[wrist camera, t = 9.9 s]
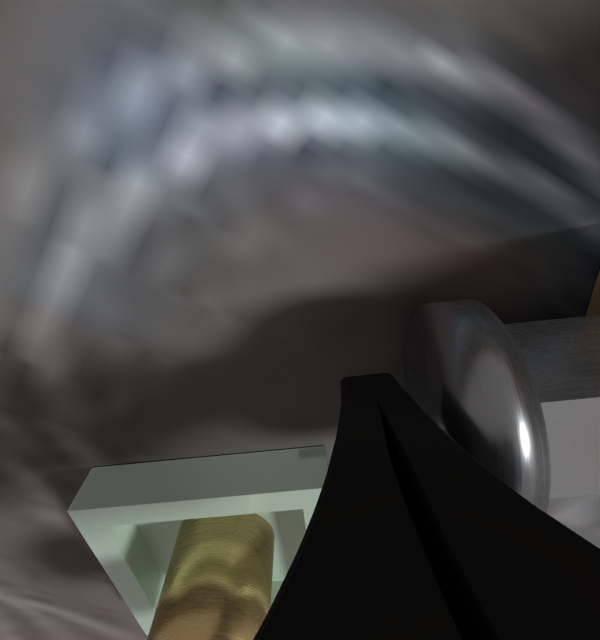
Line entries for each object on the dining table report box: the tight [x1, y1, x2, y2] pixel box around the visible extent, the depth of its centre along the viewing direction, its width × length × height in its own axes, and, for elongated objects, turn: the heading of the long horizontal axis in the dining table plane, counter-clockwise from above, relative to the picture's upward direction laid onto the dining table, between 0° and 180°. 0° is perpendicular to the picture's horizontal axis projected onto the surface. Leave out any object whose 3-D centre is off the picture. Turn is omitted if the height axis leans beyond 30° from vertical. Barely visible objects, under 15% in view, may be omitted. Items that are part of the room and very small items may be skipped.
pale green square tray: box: [67, 446, 328, 635], centre depth 15 cm, size 9×9×2 cm
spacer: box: [147, 513, 275, 640], centre depth 13 cm, size 4×4×6 cm
